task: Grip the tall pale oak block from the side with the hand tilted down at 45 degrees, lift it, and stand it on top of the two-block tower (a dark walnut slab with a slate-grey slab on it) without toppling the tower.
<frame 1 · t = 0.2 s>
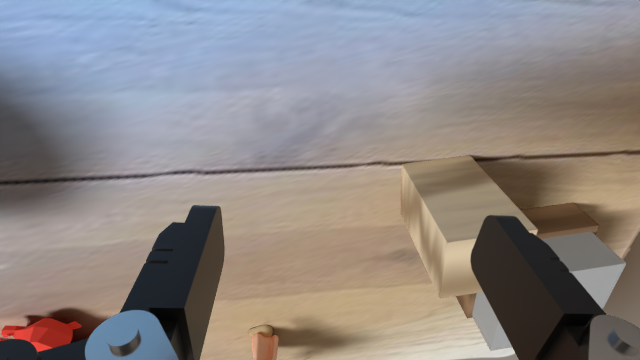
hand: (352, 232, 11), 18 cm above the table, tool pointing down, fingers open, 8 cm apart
grandmother figurine: (262, 332, 43), on the table
tower top: (527, 276, 36), point 3 cm above the table, touching tower base
animal figurine: (75, 336, 40), on the table
oak block: (433, 185, 33), on the table
tower base: (506, 247, 40), on the table, touching tower top
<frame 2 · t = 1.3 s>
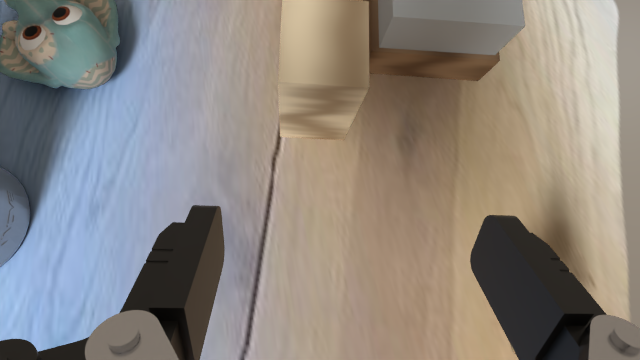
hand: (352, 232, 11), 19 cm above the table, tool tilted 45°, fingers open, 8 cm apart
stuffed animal: (72, 47, 32), on the table
oak block: (313, 106, 32), on the table
tower base: (417, 26, 35), on the table, touching tower top
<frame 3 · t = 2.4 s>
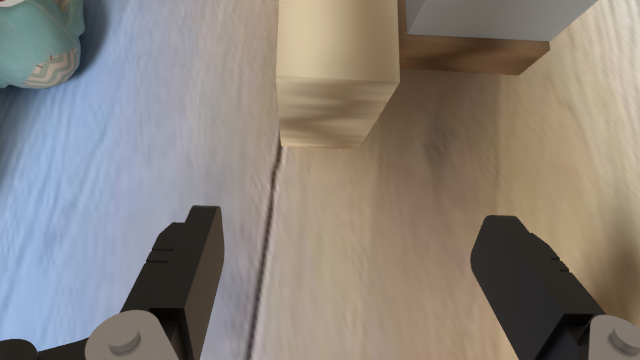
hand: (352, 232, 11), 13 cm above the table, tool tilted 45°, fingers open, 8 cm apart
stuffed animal: (30, 38, 26), on the table
oak block: (321, 108, 26), on the table
tower base: (443, 12, 30), on the table, touching tower top
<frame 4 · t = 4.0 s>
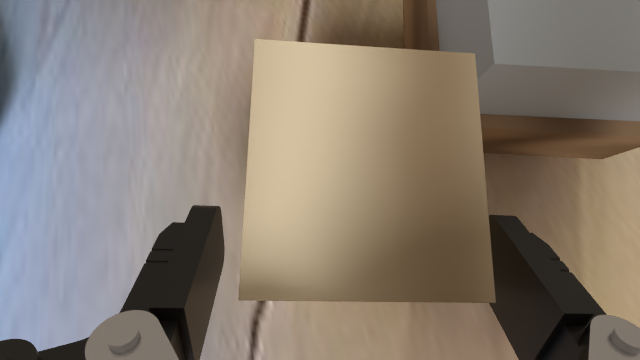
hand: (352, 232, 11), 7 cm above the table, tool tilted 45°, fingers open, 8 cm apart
tower top: (537, 19, 17), point 3 cm above the table, touching tower base
oak block: (325, 216, 18), on the table
tower base: (493, 66, 21), on the table, touching tower top
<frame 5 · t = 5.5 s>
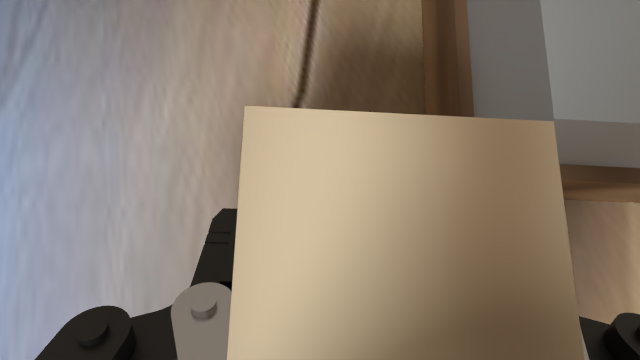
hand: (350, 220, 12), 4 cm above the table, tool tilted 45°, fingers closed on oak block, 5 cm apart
tower top: (588, 46, 15), point 4 cm above the table, touching tower base
oak block: (334, 273, 15), on the table, touching gripper
tower base: (526, 93, 19), on the table, touching tower top
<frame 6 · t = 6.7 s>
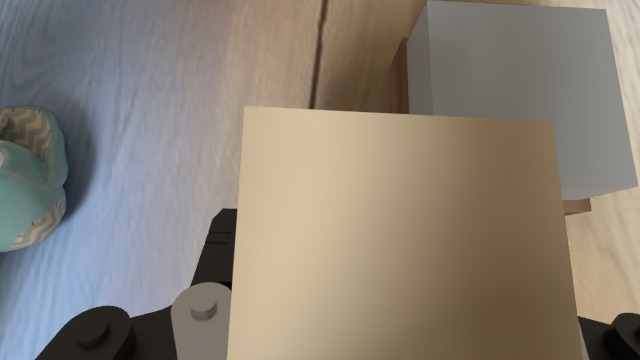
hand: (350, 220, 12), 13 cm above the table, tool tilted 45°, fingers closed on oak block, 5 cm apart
tower top: (488, 118, 23), point 4 cm above the table, touching tower base
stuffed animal: (11, 181, 24), on the table
oak block: (334, 273, 15), point 8 cm above the table, touching gripper
tower base: (465, 141, 27), on the table, touching tower top
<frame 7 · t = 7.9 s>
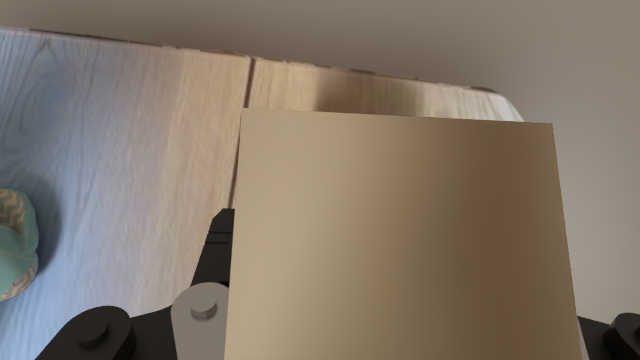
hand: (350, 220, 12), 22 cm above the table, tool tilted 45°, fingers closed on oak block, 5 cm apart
oak block: (334, 274, 15), point 18 cm above the table, touching gripper
when the fingers open (13 cm above the table, at t = 10.9 s): oak block drops 2 cm, resting on tower top.
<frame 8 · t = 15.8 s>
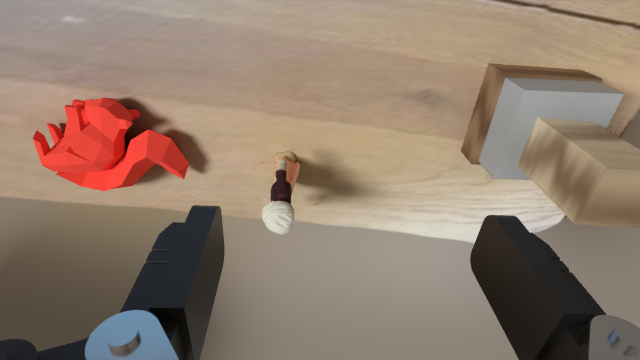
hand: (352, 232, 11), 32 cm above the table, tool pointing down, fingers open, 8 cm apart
grandmother figurine: (285, 162, 47), on the table
tower top: (534, 123, 41), point 3 cm above the table, touching oak block, tower base
animal figurine: (128, 136, 44), on the table
oak block: (553, 144, 38), point 7 cm above the table, touching tower top
tower base: (515, 110, 45), on the table, touching tower top
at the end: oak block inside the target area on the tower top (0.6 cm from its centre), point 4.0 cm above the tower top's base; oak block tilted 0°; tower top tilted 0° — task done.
